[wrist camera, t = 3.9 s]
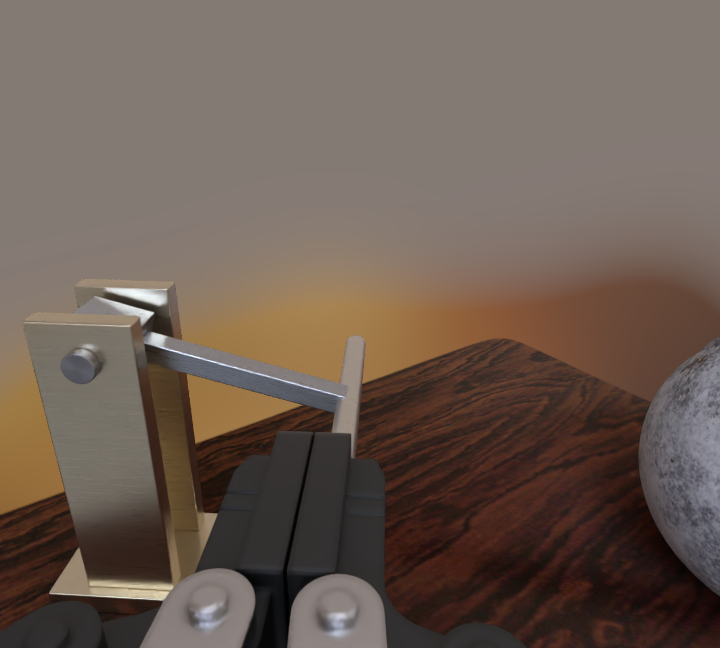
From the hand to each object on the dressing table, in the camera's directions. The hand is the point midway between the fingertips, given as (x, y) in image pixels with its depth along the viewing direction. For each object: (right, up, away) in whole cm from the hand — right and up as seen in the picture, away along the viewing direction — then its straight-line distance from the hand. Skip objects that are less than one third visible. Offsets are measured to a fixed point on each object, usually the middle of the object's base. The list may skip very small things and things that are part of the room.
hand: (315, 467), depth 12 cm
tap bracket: (-10, -10, +19) cm, 24 cm away
